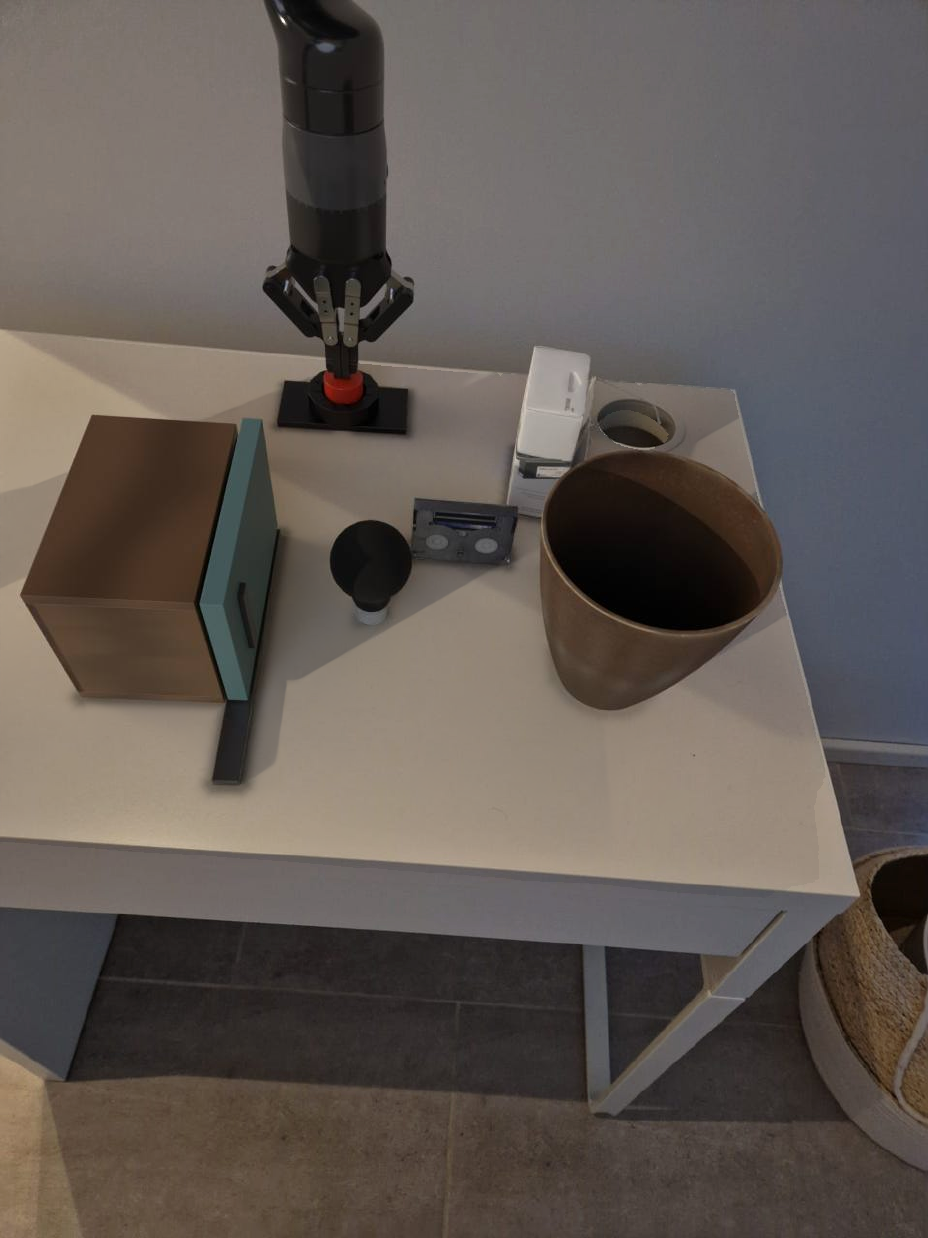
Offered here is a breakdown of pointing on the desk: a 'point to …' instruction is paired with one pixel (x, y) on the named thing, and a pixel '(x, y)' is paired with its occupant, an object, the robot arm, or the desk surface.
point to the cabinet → (142, 569)
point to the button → (343, 388)
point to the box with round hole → (586, 440)
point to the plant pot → (648, 572)
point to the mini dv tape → (463, 531)
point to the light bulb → (371, 566)
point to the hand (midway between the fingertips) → (343, 373)
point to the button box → (343, 408)
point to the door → (241, 562)
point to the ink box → (548, 426)
